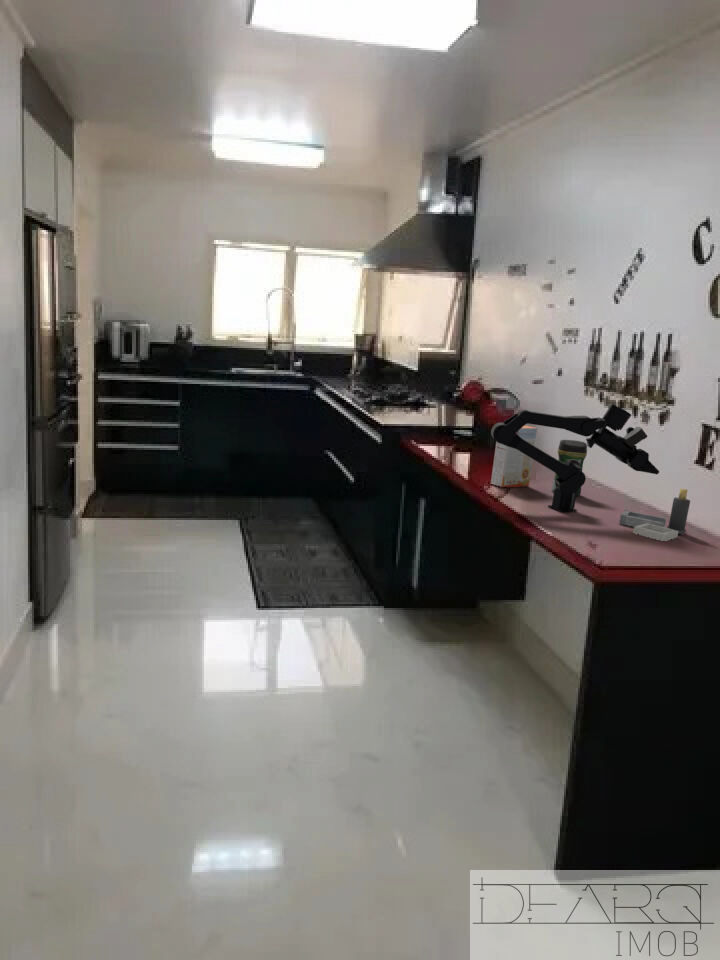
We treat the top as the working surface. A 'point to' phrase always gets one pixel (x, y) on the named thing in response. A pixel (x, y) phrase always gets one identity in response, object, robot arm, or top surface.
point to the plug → (679, 512)
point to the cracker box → (513, 462)
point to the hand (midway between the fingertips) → (653, 470)
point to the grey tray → (640, 519)
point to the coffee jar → (571, 456)
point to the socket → (655, 532)
